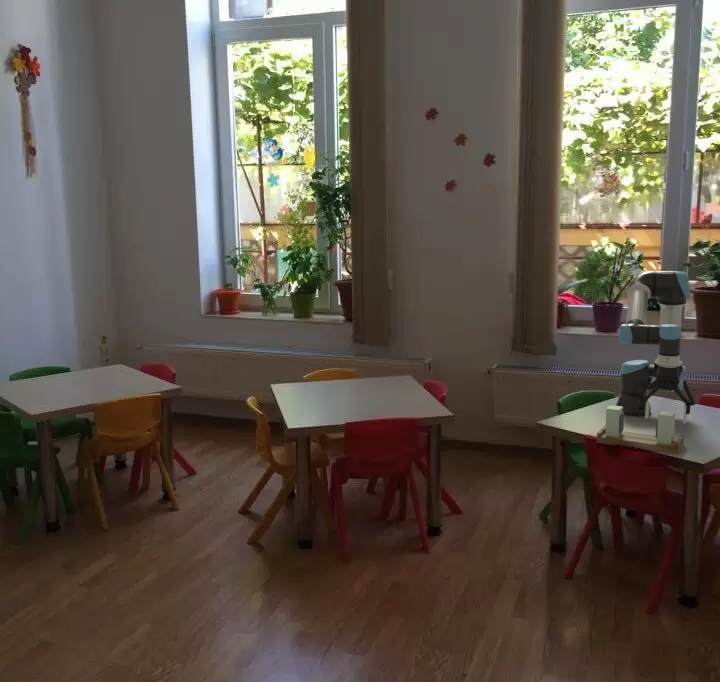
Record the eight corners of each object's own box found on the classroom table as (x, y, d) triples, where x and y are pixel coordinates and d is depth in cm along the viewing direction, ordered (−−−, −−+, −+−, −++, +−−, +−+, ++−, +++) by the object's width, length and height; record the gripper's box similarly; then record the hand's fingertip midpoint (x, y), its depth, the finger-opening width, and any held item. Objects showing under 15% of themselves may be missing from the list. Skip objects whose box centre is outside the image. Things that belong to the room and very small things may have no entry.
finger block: (658, 438, 292) (659, 410, 291) (673, 440, 289) (675, 412, 288) (655, 442, 287) (656, 414, 286) (670, 444, 284) (672, 416, 283)
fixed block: (609, 431, 302) (610, 405, 300) (623, 433, 299) (624, 406, 297) (605, 435, 297) (606, 408, 295) (619, 437, 294) (621, 410, 292)
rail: (604, 435, 306) (604, 425, 306) (683, 445, 291) (684, 435, 290) (596, 442, 296) (597, 433, 296) (678, 454, 281) (678, 444, 280)
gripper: (631, 364, 287) (629, 418, 291) (703, 370, 274) (699, 426, 278) (636, 360, 293) (633, 413, 297) (705, 366, 280) (702, 421, 284)
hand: (665, 420), depth 287 cm, fingers open, 13 cm apart
